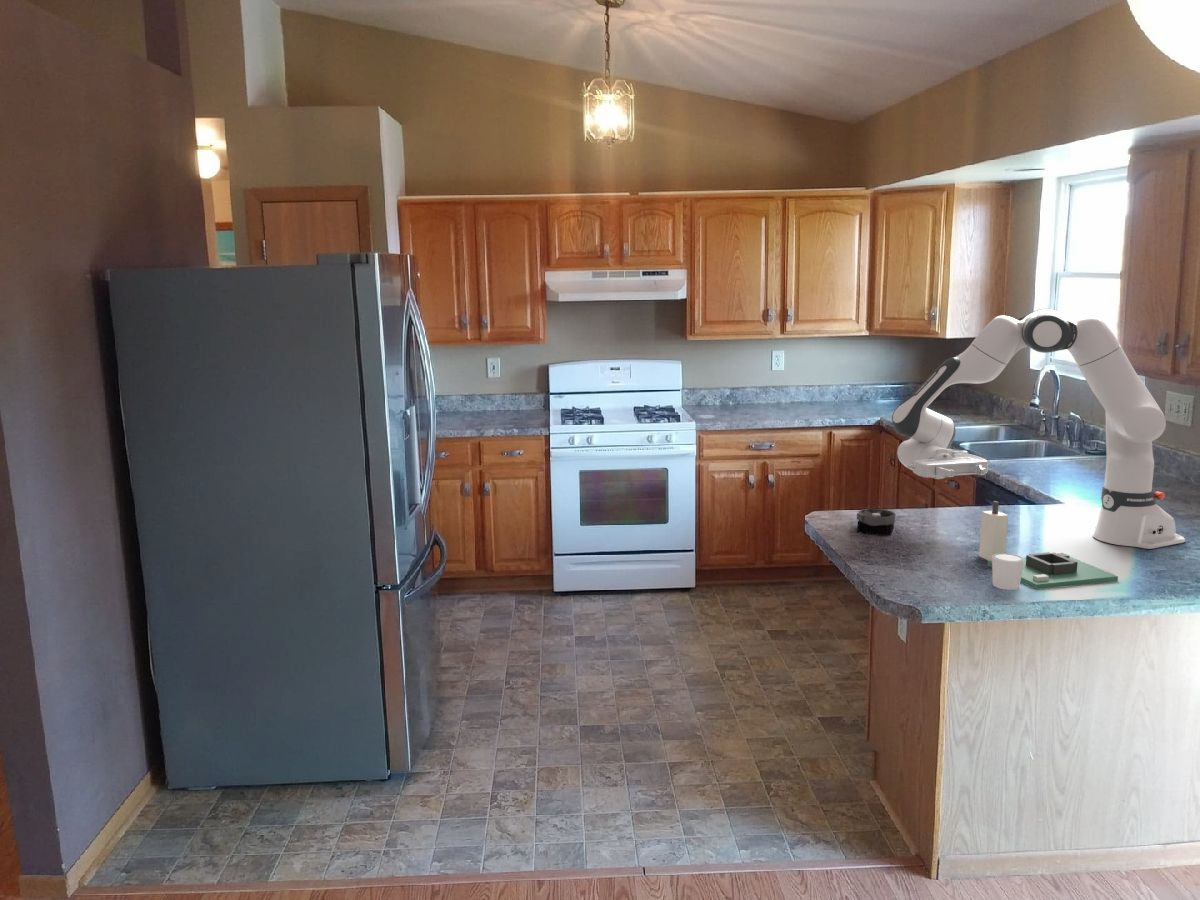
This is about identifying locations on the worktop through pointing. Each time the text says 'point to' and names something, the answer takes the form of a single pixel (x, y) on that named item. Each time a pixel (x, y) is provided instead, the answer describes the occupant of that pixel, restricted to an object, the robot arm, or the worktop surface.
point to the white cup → (1007, 570)
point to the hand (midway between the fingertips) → (967, 473)
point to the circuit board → (1059, 571)
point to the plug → (993, 532)
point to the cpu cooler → (876, 521)
